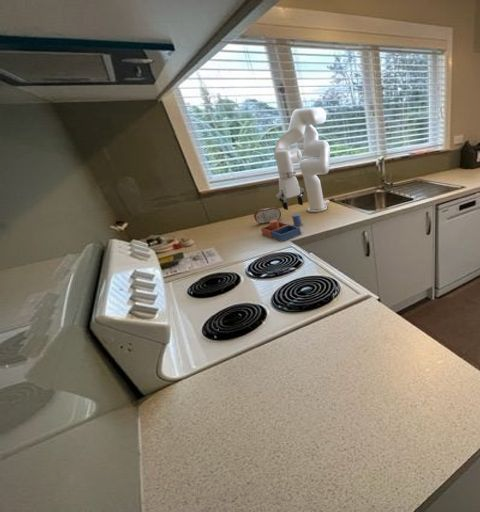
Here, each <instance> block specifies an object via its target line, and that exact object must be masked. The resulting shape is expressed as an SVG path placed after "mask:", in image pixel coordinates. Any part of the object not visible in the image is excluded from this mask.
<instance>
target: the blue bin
mask: <svg viewBox="0 0 480 512" xmlns="http://www.w3.org/2000/svg"><path fill="white" fill-rule="evenodd" d="M271 234H272V237H273V238H272V239H275V240H278V241H280V242H286V241H287V240H291V239H293V238H294V237H298V236H300V235H301V234H302V230H301V227H300V226H298V227H296V226H294V225H292V224H289V225H287V226H285V227H282V228H279V229H277V230H274V231H272V232H271Z"/></svg>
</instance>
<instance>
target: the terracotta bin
mask: <svg viewBox="0 0 480 512" xmlns="http://www.w3.org/2000/svg"><path fill="white" fill-rule="evenodd" d="M278 222H279V227H280V228H282V227H285V226H287V225H290V224H288V223H285V222H282V221H278ZM278 229H279V228H278ZM260 230H261V233H262V235H263V236H266V237H268V238H271V239H274V238H273V237H272V234H271V232H272V231H274V230H271V226H270V224H269V225H267V226H264V227H261V228H260ZM275 230H277V229H275Z"/></svg>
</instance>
